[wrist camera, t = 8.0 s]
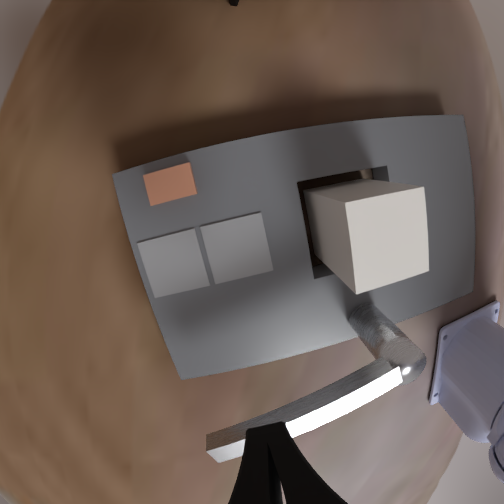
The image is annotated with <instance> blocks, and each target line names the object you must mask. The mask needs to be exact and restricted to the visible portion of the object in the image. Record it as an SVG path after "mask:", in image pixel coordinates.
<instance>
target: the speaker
mask: <svg viewBox="0 0 504 504" xmlns="http://www.w3.org/2000/svg"><path fill="white" fill-rule="evenodd" d="M238 2H239V0H230V4H231V5H232V6H237V5H238Z"/></svg>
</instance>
